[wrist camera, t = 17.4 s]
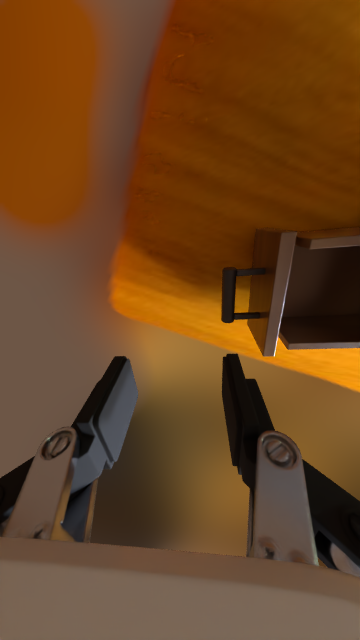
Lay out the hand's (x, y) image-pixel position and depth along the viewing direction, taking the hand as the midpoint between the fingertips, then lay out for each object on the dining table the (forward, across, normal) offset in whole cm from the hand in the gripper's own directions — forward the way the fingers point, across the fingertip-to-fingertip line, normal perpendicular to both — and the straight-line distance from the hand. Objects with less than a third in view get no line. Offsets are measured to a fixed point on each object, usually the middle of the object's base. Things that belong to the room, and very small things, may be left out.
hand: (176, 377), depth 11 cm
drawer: (+17, -13, 0) cm, 21 cm away
